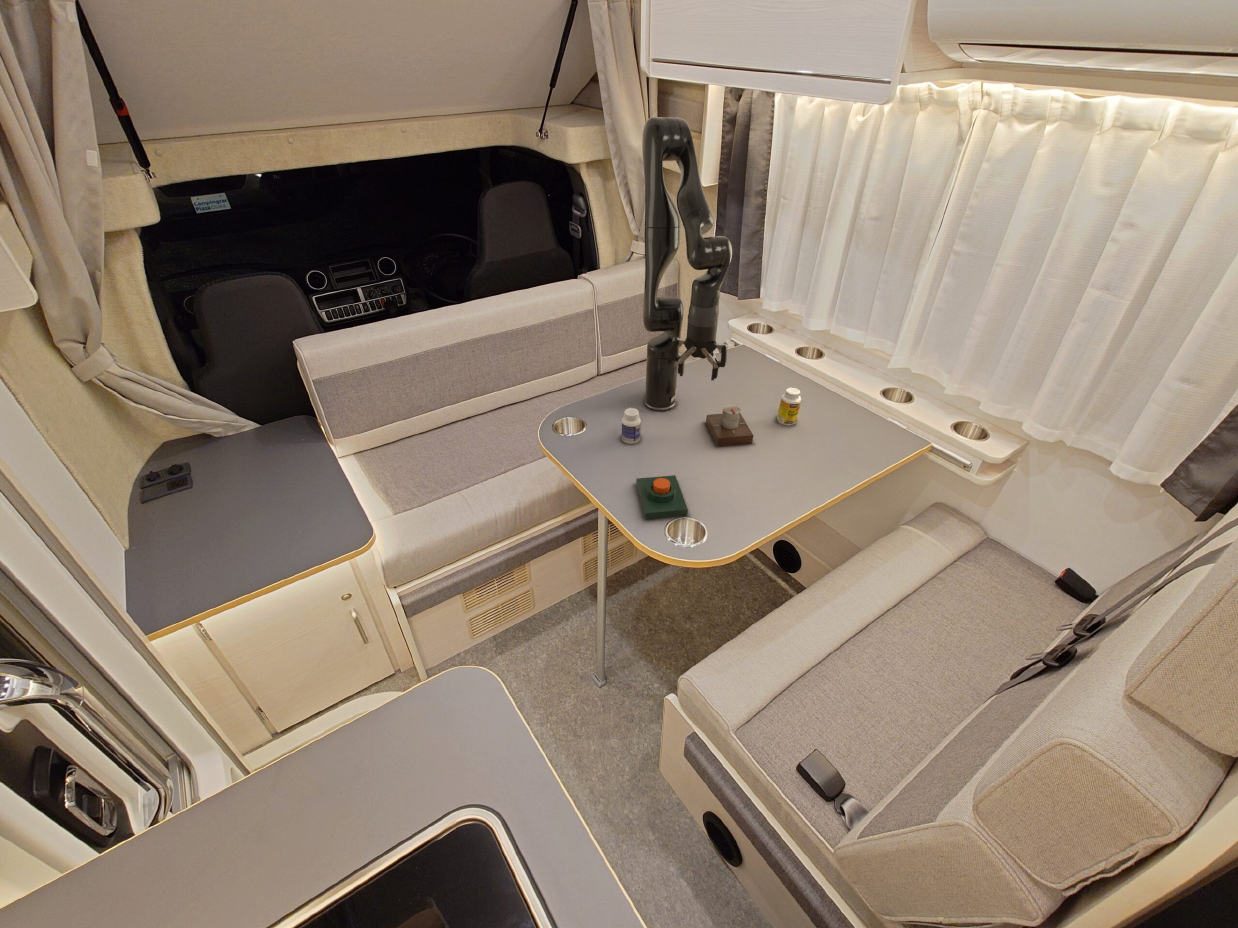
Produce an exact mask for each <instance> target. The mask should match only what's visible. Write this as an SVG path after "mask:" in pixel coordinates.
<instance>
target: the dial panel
mask: <svg viewBox="0 0 1238 928" xmlns="http://www.w3.org/2000/svg"><path fill="white" fill-rule="evenodd" d="M721 420H722V413H713V414H711V413H710V414H706V418H705V426H706V427H707V429H708V431H709V433H710V435H711V438H712V440H713V441H714V444H715V445H716V447H719V448H720V447H729V446H731V447H732V446H743V445H744V446H745V445H752V444H753V440H754V433H753V432H752V430H751V428H750V427H749V425H748V423H747V422H746V420H745V419H744V417H743V414H742V413H740V417H739V423H738V427H737V428H735V429H727V428H724V427H723V426H722V425H721Z"/></svg>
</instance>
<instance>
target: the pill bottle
mask: <svg viewBox="0 0 1238 928" xmlns="http://www.w3.org/2000/svg"><path fill="white" fill-rule="evenodd" d="M641 426H642V421H641V418H640V412H639V409H637V408H633V407H629V408H626V409H625V410H624V411H623V417H622V419H621V434H620V435H621V437H620V438H621V440H622V442H623V443H625V444H629V445H630V444H633V445H634V444H636V443H639V442H640V440H641V429H642V427H641Z"/></svg>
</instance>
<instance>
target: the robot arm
mask: <svg viewBox="0 0 1238 928" xmlns="http://www.w3.org/2000/svg"><path fill="white" fill-rule="evenodd" d="M691 130H692V129H691V127H690V125H689V123H688V122H687V120H686V119H684V118H681V117H674V116H673V117H672V116H671V117H668V116H667V117H666V116H651V117H649V118H648V119H647V120H646V121H645V123H644V125H643V129H642V136H641V149H642V166H643V178H644V179H643V180H644V205H645V206H644V268H645V269H644V289H643V305H642V307H643V308H642V321H643V322H642V323H643V326H644V329H645V331H647V332H649V333H652V332H653V333H655V332H656V333H657V332H663V333H661V334H659V335H657V336H655V337H652V338H651V339H649V341H648V342H647V345H646V366H645V367H646V370H645V389H644V392H645V393H644V396H645V397H644V405H645V407H647V408H649V409H651V410H653V411H660V412H662V411H668V410H671V409H673V408H674V407H675V406H676V398H677V397H678V393H676V392H677V380H678V375H679V377H683V376H684V373H685V361H686V360H687V359H688V358H689V357H692V358H695V359H696V358H697V359H698V358H700V359H701V360H702V359H703V360H704V359H707V361H708V362H709V363H710V364H711V366H712V369H711V379H710V381H712V382H713V381H715V380H716V379H717V377H718V375H719V368H725V367H726V364H727V359H728V358H727V357H728V342H723V343H717V332H718V325H719V314H720V308H719V307H720V298H721V297H720V296H721V289H722V285H723V283H724V281H725V278H726V275H727V273H728V270H729V268H730V265H731V262H732V259H733V258H732V257H733V245H732V243H731V241H730V240H729V238H728V237H727V236H724V235H716V236H708V237H703V235H705V234H707V233H709V232H710V231H711V230H712V228H713V227H714V224H715V223H714V216H713V214H712V211H711V209H710V206H709V203H708V200H707V198H706V194H705V192H704V189H703V184H702V180H701V175H700V170H699V164H698V158H697V154H696V149H695V143H694V139H693V134H692V131H691ZM664 162H675V163H676V164H677V166H678V168H679V170H680V180H679V185H678V189H677V193H676V204H675V203H674V201H673V198H672V197H671V194H670V193H669V191H668V189H667V186H666V182H665V177H664V164H663V163H664ZM681 223H682V227H683V229H684V236H685V244H686V246H685V248H686V249H685V250H686V260H687V263H688V264H689V266H690V267H691V268H692V269H693V270H695V271H704V270H706V272H705V273H704V274H702V275H699V276H698V277H695V278H694V280H693V281H692V282H691V283H692V284H691V290H690V291H691V292H690V303H689V308H688V312H687V313H688V314H687V325H686V338H685V339H684V338H681V335H682V328H683V324H684V323H683V322H684V303H683V301H682V299H681V298H680V297H679V296H658V291H659V288H660V284H661V281H662V279H663V277H664V274H665V273H666V271H667V269H668V268H669V266H670V264H671V263H672V261H673V260H674V259H675V256H676V254H677V253H678V251H679V248H680V243H681ZM682 345H684V348H685V351H684V352H683V353H682V354H681V355H680V348H681V347H682ZM716 349H717V350H718V352H719V353H720V360H719V359H718V358H717V355H716V353H715V350H716Z"/></svg>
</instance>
